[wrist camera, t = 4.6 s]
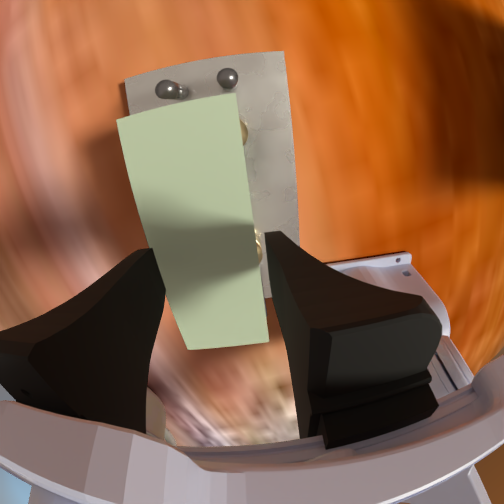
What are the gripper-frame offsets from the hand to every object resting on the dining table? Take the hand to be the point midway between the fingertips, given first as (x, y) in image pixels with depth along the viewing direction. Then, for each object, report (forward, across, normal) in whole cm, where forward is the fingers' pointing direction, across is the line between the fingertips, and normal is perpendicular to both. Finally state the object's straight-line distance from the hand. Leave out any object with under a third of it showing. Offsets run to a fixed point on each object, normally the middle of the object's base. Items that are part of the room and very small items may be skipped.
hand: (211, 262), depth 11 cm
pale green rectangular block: (+7, 0, 0) cm, 7 cm away
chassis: (+9, 0, 0) cm, 9 cm away
